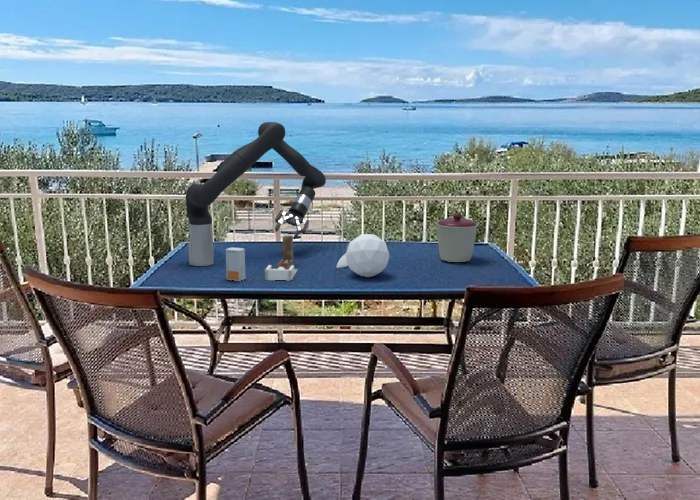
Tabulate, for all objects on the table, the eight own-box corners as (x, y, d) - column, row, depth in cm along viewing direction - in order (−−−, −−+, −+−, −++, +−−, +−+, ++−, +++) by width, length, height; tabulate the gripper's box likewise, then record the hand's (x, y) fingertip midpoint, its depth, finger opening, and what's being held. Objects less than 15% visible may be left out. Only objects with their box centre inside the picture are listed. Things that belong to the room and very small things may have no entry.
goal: (265, 280, 225) (264, 269, 224) (268, 275, 233) (268, 265, 232) (291, 280, 225) (291, 270, 224) (294, 275, 232) (294, 265, 232)
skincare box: (226, 280, 225) (224, 249, 222) (232, 277, 229) (231, 246, 226) (240, 281, 223) (239, 250, 220) (246, 279, 226) (245, 248, 224)
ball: (275, 266, 230) (277, 267, 233) (275, 275, 229) (277, 276, 233) (285, 266, 230) (286, 267, 233) (284, 275, 229) (286, 276, 233)
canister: (464, 267, 247) (467, 217, 243) (426, 261, 258) (428, 213, 253) (483, 260, 261) (486, 212, 257) (446, 254, 272) (448, 208, 268)
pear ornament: (376, 229, 221) (368, 218, 248) (326, 264, 222) (324, 249, 249) (401, 264, 224) (390, 249, 251) (352, 298, 225) (347, 280, 253)
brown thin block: (277, 272, 236) (277, 242, 234) (283, 263, 251) (283, 235, 249) (288, 272, 236) (288, 242, 234) (294, 263, 251) (293, 235, 248)
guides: (280, 267, 245) (279, 260, 244) (280, 266, 246) (280, 259, 245) (292, 268, 244) (292, 260, 244) (293, 267, 246) (293, 260, 245)
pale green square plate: (268, 274, 233) (268, 274, 233) (273, 269, 242) (273, 268, 242) (294, 275, 233) (294, 274, 233) (297, 269, 242) (297, 268, 242)
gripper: (286, 196, 265) (270, 223, 257) (315, 207, 264) (300, 236, 256) (285, 205, 272) (270, 232, 263) (314, 217, 271) (299, 244, 262)
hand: (285, 234), depth 260 cm, fingers open, 8 cm apart
